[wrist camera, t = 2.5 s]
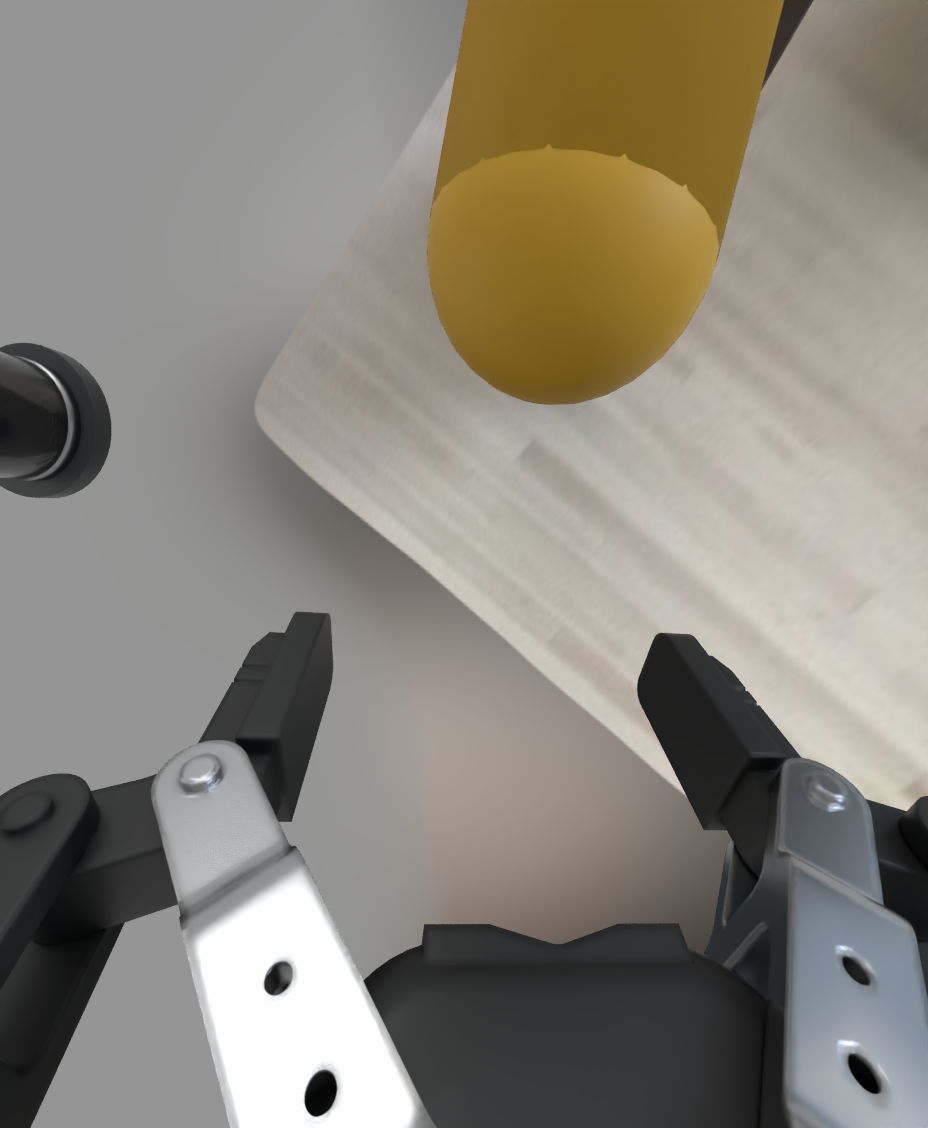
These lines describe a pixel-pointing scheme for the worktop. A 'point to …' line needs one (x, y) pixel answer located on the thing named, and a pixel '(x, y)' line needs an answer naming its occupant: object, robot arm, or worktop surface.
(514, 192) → the hammer
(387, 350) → the worktop surface
